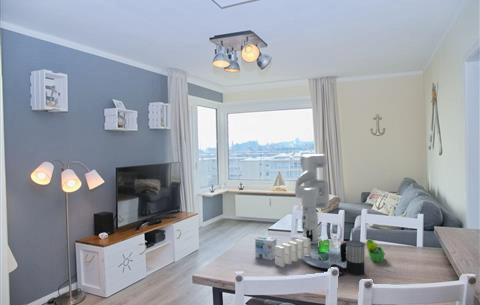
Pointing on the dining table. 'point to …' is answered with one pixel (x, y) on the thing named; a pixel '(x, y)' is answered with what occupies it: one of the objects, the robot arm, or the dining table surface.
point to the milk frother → (352, 257)
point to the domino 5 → (306, 245)
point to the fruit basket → (375, 251)
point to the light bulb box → (265, 247)
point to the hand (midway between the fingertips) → (309, 240)
